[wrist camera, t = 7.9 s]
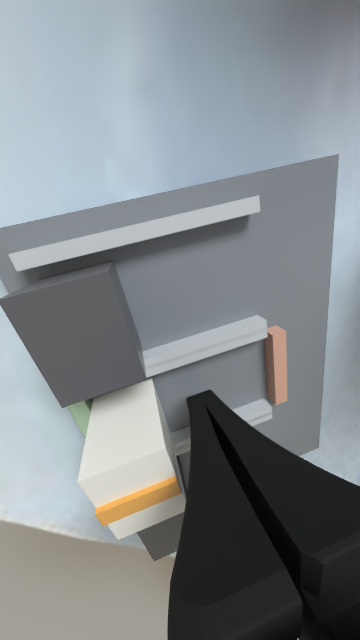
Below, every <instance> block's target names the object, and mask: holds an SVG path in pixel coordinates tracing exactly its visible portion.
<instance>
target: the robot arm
mask: <svg viewBox="0 0 360 640" xmlns="http://www.w3.org/2000/svg"><path fill="white" fill-rule="evenodd" d="M186 402H187V406H188V410H189V417H190V433H191V445H190V468H189V480H188V488H187V497H186V504H185V511H184V517H183V522H182V528H181V534H180V539H179V545H178V549H177V554H176V558H175V563H174V568H173V573H172V577H171V582H170V595H169V609H168V640H297V638H299V640H360V486H357V485H355V484H353V483H351V482H348V481H346V480H344V479H342V478H340V477H338V476H335V475H333V474H331V473H329V472H327V471H325V470H323V469H321V468H319V467H317V466H315V465H314V464H312V463H310V462H308V461H306V460H304V459H303V458H301V457H299V456H297V455H295V454H293V453H292V452H290V451H288V450H287V449H285V448H283V447H282V446H280V445H279V444H277V443H275V442H274V441H272V440H271V439H269V438H268V437H266V436H265V435H263V434H262V433H261V432H259V431H258V430H256V429H255V428H254V427H252V426H251V425H250V424H248V423H247V422H246V421H245V420H243V419H242V418H241V417H240V416H239V415H237V414H236V413H235V412H234V411H233V410H231V409H230V408H229V407H228V406H227V405H226V404H225V403H224V402H223V401H222V400H221V399H220V398H219V397H218V396H217V395H216V394H215V393H214V392H213V391H212V390H210V389H209V390H206V391H203V392H201V393H198V394H195V395H192V396H189V397H187V399H186Z"/></svg>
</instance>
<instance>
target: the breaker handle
mask: <svg viewBox="0 0 360 640" xmlns="http://www.w3.org/2000/svg"><path fill="white" fill-rule="evenodd" d="M77 482H78V483H79V485H80V486H81V488H82V489H83V491H84V492H85V493H86V495H87V496H88V498H89V499H90V501H91V502H92V503H93V505H94V506H95V508H96V510H95V515H96V517H97V518H98V520H99V521H100V522H101V524H102V525H103V526H105V525H108V527H109V528H110V529H111V531H112V532H113V534H114V535H115V537H116V538H117V540H120V539H122V538H125V537H127V536H129V535H132V534H134V533H136V532H138V531H141V530H143V529H145V528H148V527H150V526H152V525H155V524H157V523H159V522H162V521H164V520H166V519H169V518H171V517H173V516H176V515H178V514H180V513H182V512H184V511H185V504H186V497H185V493H184V488H183V484H182V480H181V476H180V471H179V467H178V463H177V458H176V454H175V450H174V446H173V441H172V437H171V433H170V429H169V427H168V424H167V421H166V418H165V415H164V412H163V409H162V406H161V403H160V400H159V397H158V394H157V391H156V389H155V386H154V383H153V380H152V378H151V379H149V380H146V381H143V382H140V383H137V384H134V385H131V386H128V387H125V388H122V389H119V390H116V391H113V392H110V393H107V394H104V395H101V396H98V397H95V398H93V403H92V408H91V414H90V419H89V424H88V429H87V434H86V440H85V445H84V450H83V455H82V460H81V466H80V471H79V476H78V481H77Z"/></svg>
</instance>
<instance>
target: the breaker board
mask: <svg viewBox="0 0 360 640" xmlns="http://www.w3.org/2000/svg"><path fill="white" fill-rule="evenodd" d="M338 157H339V154H337V155H333V156H328V157H323V158H319V159H314V160H310V161H305V162H301V163H296V164H291V165H287V166H282V167H278V168H273V169H269V170H264V171H259V172H255V173H250V174H246V175H241V176H237V177H232V178H227V179H223V180H218V181H214V182H209V183H204V184H200V185H195V186H191V187H186V188H182V189H177V190H172V191H168V192H163V193H159V194H154V195H150V196H145V197H140V198H136V199H131V200H127V201H122V202H118V203H113V204H108V205H104V206H99V207H95V208H90V209H86V210H81V211H76V212H72V213H67V214H63V215H58V216H53V217H49V218H44V219H40V220H35V221H31V222H26V223H21V224H17V225H12V226H8V227H3V228H0V278H1V280H2V282H3V283H4V285H5V287H6V289H7V290H8V292H9V294H8V295H6V296H4V297H2V298H0V305H1V307H2V308H3V310H4V312H5V313H6V315H7V317H8V318H9V320H10V322H11V323H12V325H13V327H14V328H15V330H16V332H17V333H18V335H19V337H20V338H21V340H22V342H23V343H24V345H25V347H26V348H27V350H28V352H29V353H30V355H31V357H32V358H33V360H34V362H35V363H36V365H37V367H38V368H39V370H40V372H41V373H42V375H43V377H44V378H45V380H46V382H47V383H48V385H49V387H50V388H51V390H52V392H53V393H54V395H55V397H56V398H57V400H58V402H59V403H60V405H61V407H62V408H64V407H67V408H68V410H69V411H70V413H71V415H72V416H73V418H74V420H75V422H76V423H77V425H78V427H79V428H80V430H81V432H82V434H83V435H84V437H85V439H86V434H87V429H88V424H89V419H90V414H91V408H92V403H93V398H95V397H98V396H101V395H104V394H107V393H110V392H113V391H116V390H119V389H122V388H125V387H128V386H131V385H134V384H137V383H140V382H143V381H146V380H149V379H151V378H152V380H153V383H154V386H155V389H156V391H157V394H158V397H159V400H160V403H161V406H162V409H163V412H164V415H165V418H166V421H167V424H168V427H169V429H170V433H171V437H172V441H173V446H174V450H175V454H176V458H177V463H178V467H179V471H180V476H181V480H182V484H183V488H184V493H185V497H187V488H188V480H189V468H190V445H191V433H190V417H189V410H188V406H187V402H186V399H187V397H189V396H192V395H195V394H198V393H201V392H203V391H206V390H209V389H210V390H212V391H213V392H214V393H215V394H216V395H217V396H218V397H219V398H220V399H221V400H222V401H223V402H224V403H225V404H226V405H227V406H228V407H229V408H230V409H231V410H233V411H234V412H235V413H236V414H237V415H239V416H240V417H241V418H242V419H243V420H245V421H246V422H247V423H248V424H250V425H251V426H252V427H254V428H255V429H256V430H258V431H259V432H261V433H262V434H263V435H265V436H266V437H268V438H269V439H271V440H272V441H274V442H275V443H277V444H279V445H280V446H282V447H283V448H285V449H287V450H288V451H290V452H292V453H293V454H295V455H297V456H300V455H302V454H305V453H307V452H310V451H312V450H314V449H317V448H319V434H320V419H321V405H322V390H323V376H324V361H325V347H326V332H327V317H328V303H329V288H330V274H331V259H332V245H333V230H334V216H335V201H336V187H337V172H338ZM183 517H184V512H182V513H180V514H178V515H176V516H173V517H171V518H169V519H166V520H164V521H162V522H159V523H157V524H155V525H152V526H150V527H148V528H145V529H143V530H141V531H138V532H137V533H138V535H139V537H140V538H141V540H142V542H143V543H144V545H145V547H146V548H147V550H148V552H149V553H150V555H151V557H152V558H153V560H154V561H155V560H158V559H160V558H162V557H164V556H167V555H169V554H171V553H173V552H175V551H177V549H178V545H179V539H180V534H181V528H182V522H183Z"/></svg>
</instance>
